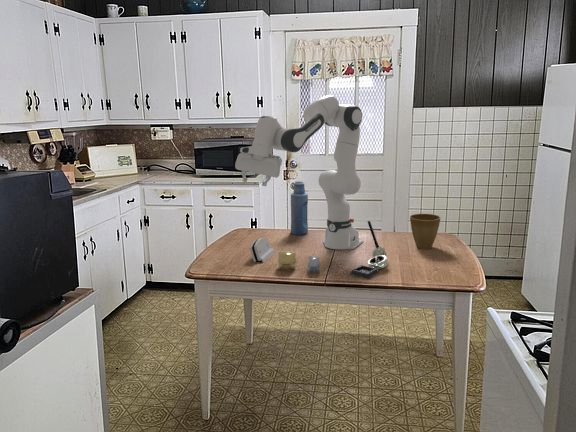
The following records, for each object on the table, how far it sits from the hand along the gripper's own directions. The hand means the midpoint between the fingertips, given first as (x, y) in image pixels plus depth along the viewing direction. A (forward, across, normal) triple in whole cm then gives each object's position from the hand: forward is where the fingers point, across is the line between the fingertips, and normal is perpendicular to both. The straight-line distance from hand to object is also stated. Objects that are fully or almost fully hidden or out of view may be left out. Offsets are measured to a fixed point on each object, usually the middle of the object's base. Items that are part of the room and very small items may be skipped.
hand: (254, 183), depth 211 cm
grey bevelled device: (+34, -1, -27) cm, 43 cm away
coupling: (+32, -30, -16) cm, 47 cm away
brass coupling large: (+34, -18, -16) cm, 42 cm away
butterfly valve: (+25, -56, -30) cm, 68 cm away
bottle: (+21, -3, -72) cm, 75 cm away
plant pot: (+13, -72, -64) cm, 97 cm away
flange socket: (+28, -52, -18) cm, 62 cm away
